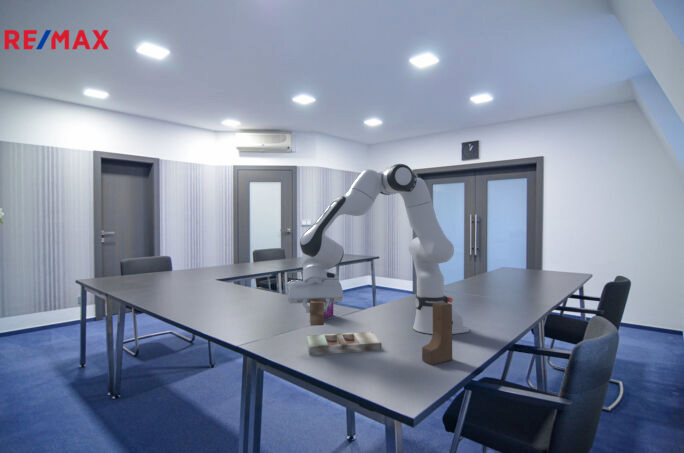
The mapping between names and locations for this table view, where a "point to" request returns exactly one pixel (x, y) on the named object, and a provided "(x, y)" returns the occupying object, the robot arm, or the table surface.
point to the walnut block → (316, 312)
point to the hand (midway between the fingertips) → (316, 311)
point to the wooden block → (440, 335)
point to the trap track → (342, 343)
